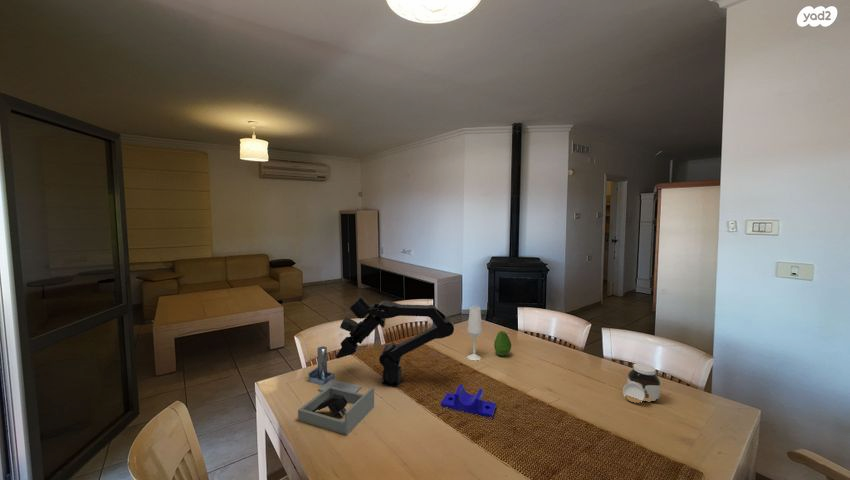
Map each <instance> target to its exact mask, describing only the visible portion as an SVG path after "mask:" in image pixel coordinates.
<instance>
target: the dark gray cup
mask: <svg viewBox="0 0 850 480" xmlns="http://www.w3.org/2000/svg"><path fill="white" fill-rule="evenodd" d="M316 353H317V367H318V379H322V380H324V379H326V378H327V372H328V348H327V346H323V345H322V346H318V347H317V351H316Z"/></svg>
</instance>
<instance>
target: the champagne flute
mask: <svg viewBox="0 0 850 480" xmlns="http://www.w3.org/2000/svg"><path fill="white" fill-rule="evenodd" d="M482 328H483V327H482V311H481V307H480V306H477V305H476V306H475V305H474V306H470V307H469V315H468V322H467V333H468V335H469V336H470V337H471V338H473V340H472V354H469V355H467V356H466V359H467V358H468V359H467V360H469V359H470V360H469V361H471V360H475V361H474V362H477V361H476V360H479V361H481V360H482V357H481V356H479V355H478V354H477V353H476V344H477V343H476V339H477V338H478V337H480V335H481V334H482V333H483V329H482ZM480 359H481V360H480Z"/></svg>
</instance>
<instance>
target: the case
mask: <svg viewBox="0 0 850 480" xmlns="http://www.w3.org/2000/svg"><path fill="white" fill-rule="evenodd" d="M333 394H336V395H343V396H344V398H345V399H346V400H347V402H348V403H351V404H352V405H351V406H350V407H349V408H348V409H346V412H344V420H343V419H339V418H336V417H331V416H328V415H325V414H321V413H318V412H316V411H315V412H312V411H313V410H314V409H316V408H317V407H318V405H320V404H321V403H322V402H323V401H324V400H326V399H327V398H329V397H330V396H332V395H333ZM374 407H375V387H373V386H372V387H370V388H369V389H368V390H367V391H366V392H364V393H359V392H356V393H355V392H351V391H347V390H343V389H339V388H335V387H331V386H329V387H328V388H326V389H325V390H324V391H323V392H322V391H320V393H318V394H317V395H316V396H315V397H312V399H310V400H309V401H308V402H307V403H305V404H304V405H302V406H301V407H300V408H299V409H297V421H298V422H303V423H306V424H310V425H312V426H315V427H319V428H322V429H326V430H329V431H332V432H336V433H338V434H339V433H340V434H342V435H345V436H348V435H349V434H350V433H351V432H352V431H353V430H354V429H355V428H356V427H357V425H359V423H360V422H361V421H362V420H363V419H364V418H365V417H366V416H367V415H368V414H369V413H370V412H371V411H372V410H373V409H374Z"/></svg>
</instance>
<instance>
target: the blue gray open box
mask: <svg viewBox="0 0 850 480" xmlns="http://www.w3.org/2000/svg"><path fill="white" fill-rule="evenodd" d="M335 374H336V373H335V372H330V371H327V378H326V379H324V380H322V379H318V366H317V367H316V368H314V369H313V370H311V371H310V372H308V375H307V376H308V377H307V378H308V380H307V381H309V383H313V384H317V385H321V386H323V385H325V384H326V383H327V382H329V381H330V380H331V379H332V380H334V379H335V378H336V375H335Z"/></svg>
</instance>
